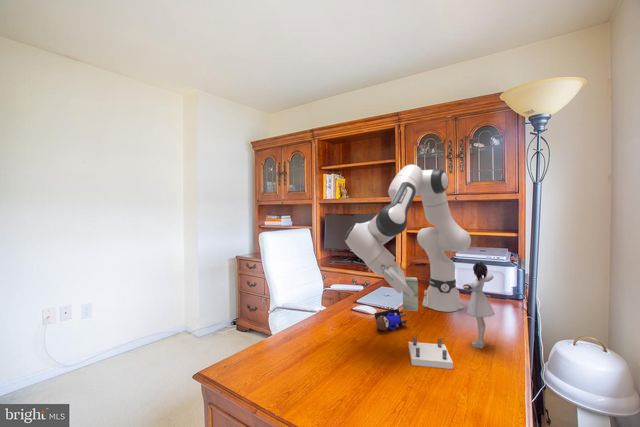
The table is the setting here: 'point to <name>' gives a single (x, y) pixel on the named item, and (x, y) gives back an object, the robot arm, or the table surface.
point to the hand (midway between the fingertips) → (412, 292)
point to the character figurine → (389, 319)
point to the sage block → (408, 301)
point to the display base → (430, 354)
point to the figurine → (479, 301)
